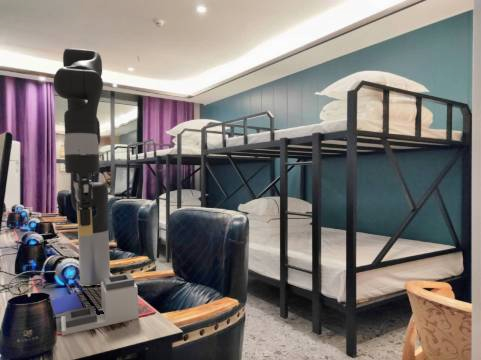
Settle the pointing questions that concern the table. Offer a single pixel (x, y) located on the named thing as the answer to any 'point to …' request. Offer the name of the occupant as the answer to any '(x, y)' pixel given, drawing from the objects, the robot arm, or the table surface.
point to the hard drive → (65, 304)
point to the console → (106, 306)
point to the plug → (84, 229)
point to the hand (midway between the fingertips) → (84, 224)
